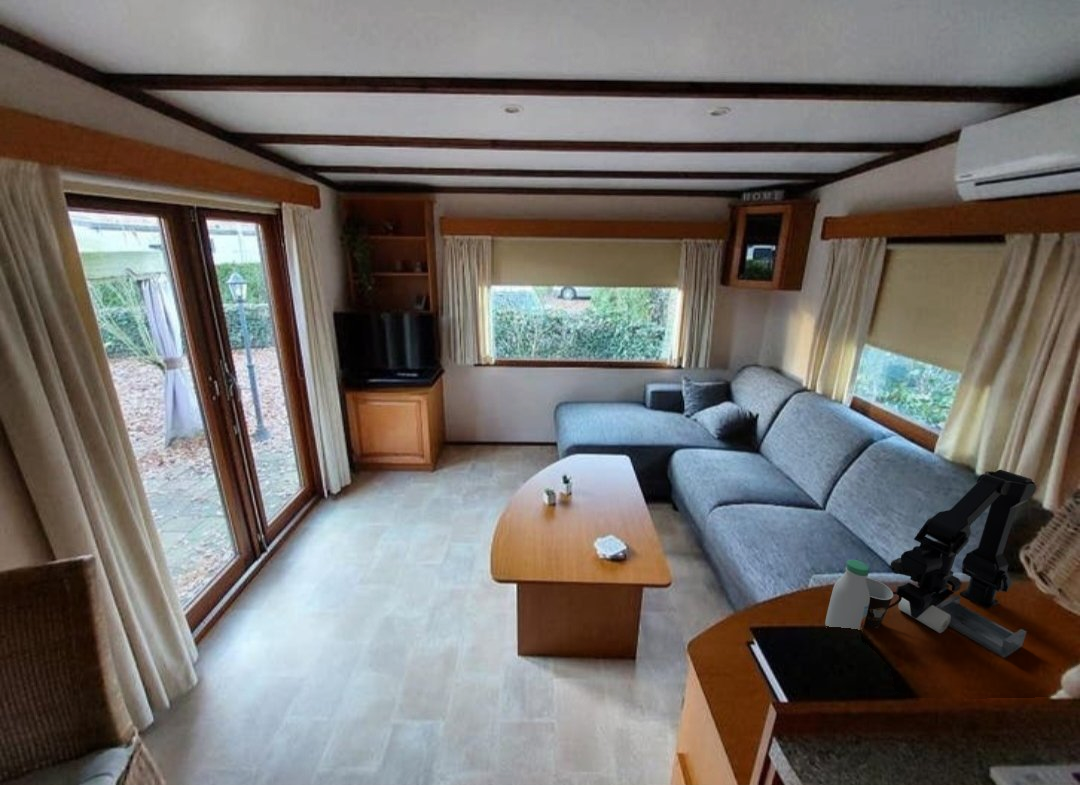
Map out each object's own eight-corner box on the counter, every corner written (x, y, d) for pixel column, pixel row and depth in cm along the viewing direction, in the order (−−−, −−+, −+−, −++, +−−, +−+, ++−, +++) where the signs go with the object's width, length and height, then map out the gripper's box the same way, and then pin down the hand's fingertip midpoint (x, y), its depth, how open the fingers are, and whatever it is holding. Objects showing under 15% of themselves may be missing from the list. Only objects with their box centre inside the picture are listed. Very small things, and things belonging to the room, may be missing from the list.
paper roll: (895, 611, 119) (901, 593, 118) (906, 607, 121) (912, 590, 120) (936, 635, 111) (942, 617, 110) (947, 630, 113) (953, 612, 112)
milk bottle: (849, 647, 107) (867, 578, 102) (818, 625, 113) (833, 559, 108) (866, 636, 110) (884, 569, 105) (835, 616, 117) (850, 551, 112)
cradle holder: (951, 608, 121) (956, 595, 119) (1021, 646, 108) (1026, 631, 107) (934, 618, 117) (938, 604, 116) (1004, 658, 105) (1009, 643, 103)
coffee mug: (848, 624, 114) (855, 592, 111) (843, 603, 121) (850, 573, 119) (903, 640, 109) (912, 608, 106) (895, 617, 116) (903, 586, 114)
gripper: (919, 538, 123) (906, 584, 127) (881, 555, 115) (867, 603, 120) (969, 562, 113) (953, 611, 117) (931, 581, 106) (914, 632, 110)
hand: (920, 613), depth 116 cm, fingers open, 6 cm apart
